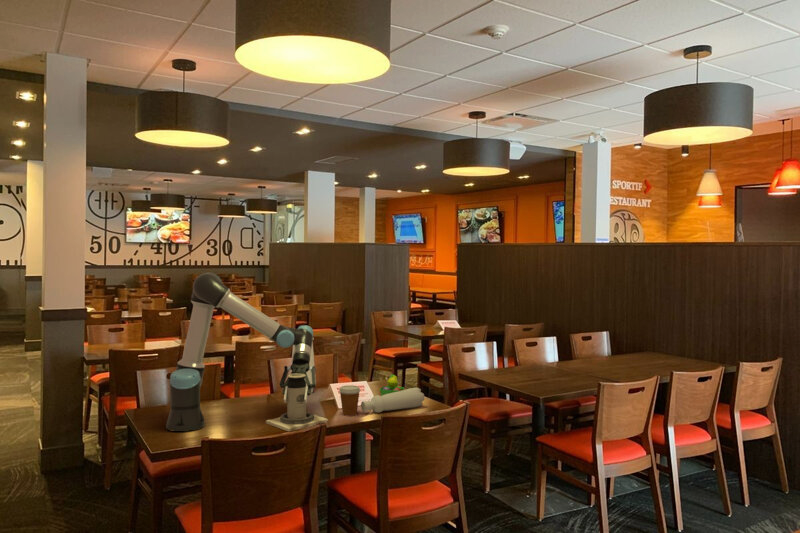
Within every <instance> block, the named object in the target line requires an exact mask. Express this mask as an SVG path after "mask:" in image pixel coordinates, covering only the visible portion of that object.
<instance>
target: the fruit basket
mask: <svg viewBox="0 0 800 533" xmlns="http://www.w3.org/2000/svg"><path fill="white" fill-rule="evenodd" d="M386 382H387V385H385V386H382V387H380V388H379V392H380V396H382V395H385V394H389V393H394V392H398V391H403V390H405V387H404V386H398V385H399V381H398V377H397V376H396V375H395V374H391V375H390V377H388V380H387V381H386Z"/></svg>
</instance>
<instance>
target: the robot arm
mask: <svg viewBox="0 0 800 533" xmlns="http://www.w3.org/2000/svg"><path fill="white" fill-rule="evenodd" d="M190 302H191V304H192V310H191V315H190V319H189V324H188V330H187V334H186V339H185V344H184V349H183V353H182V358H181V359H180V360H179V361H177V363H176V367H175V371H172V372H171V373H170V377H169V384H170V385H169V387H170V396H169V398H170V411H169V413H168V417H167V421H166V426H165V428H167V429H169V430H174V431H188V430H194V431H197V430H196V429H198V430H200V428H201V429H203V428H204V427H205V424H206V423H205V418H204V415H203V412H202V408H201V386H202V384H203V379H204V378H203V376H204V374H205V368H206V367H205V366H206V365H205V364H204V362H203V360H204V357H205V356H204V355H205V350H206V345H207V343H208V336H209V333H210V327H211V322H212V319H213V318H212V317H213V313H214V309H215V308H221V309H222V310H224V311H225V312H227V313H228V314H230V315H232V316H234V317H235V318H236V319H239V320H240V321H242V322H243V323H244V324H246V325H248V326H249V327H250V328H253V329H254V330H256V331H257V332H258V333H261V334H262V335H263V336H265V337H267V338H269V340H270V341H273V342H275V343H276V344H277V345H278V346H279V347H281V348H284V349H286V348H289V347H291V346H293V345H295V349H294V356H293V361H292V360H291V364H292V365H290V366H287V365H284V366H283V367H284V368H283V369H284V370H283V373H282V375H281V378H280V381H279V387H280V388H281V389H282V395H283V402H284V403H285V404H287V382H288V381H289V378H288V375H289V372H290V374H295V373H301V374H305V375H306V376H305V380H306V383H307V386H306V390H305V398H304V400H305V403H306V404H307V403H308V396H311V394H312V393H311V389H312V388H313V389H315V388H316V385H317V383H316V384H315V377H316V370H317V369H316V368H317V367H316V366H313V367H310V366H309V363H310V355H311V347H312V341H314V339H313V338H314V330H313V329H314V328H312V327H311V326H309V325H305V324H303V325H302V324H301V325H299V326H298V328H294V327H291V326H286V325H283V324H280V323H279V322H277V321H276V320H274V319H272V318H271V317H270V316H268V315H266V314H265V313H263V312H262V311H260V310H258V309H257V308H256V307H254V306H252V305H251V304H249V303H248V302H247V301H245V300H243V299H242V298H241V297H238V295H235V294H234V293H232V292H231V289H230V288H229V287H227V286H226V285H225V284H224V283H223V282H222V280H221V278H220V276H218V274H215V273H212V272H203V273H201V274H199V275H198V276H197V277H196V278H195V280H194V281H193V284H192V293H191V298H190ZM309 369H310V371H311V373H312V384H310V382H309V379H308V376H307V374H306V372H307V371H308V370H309ZM291 370H292V372H291ZM202 427H203V428H202ZM167 429H166V430H167Z"/></svg>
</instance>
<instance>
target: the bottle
mask: <svg viewBox="0 0 800 533" xmlns="http://www.w3.org/2000/svg"><path fill="white" fill-rule="evenodd" d="M421 391H422V389H421V388H419V387H412V388H411V387H410V388H407V389H404V390H403V391H398V392H394V393H389V394H385V395H382V396H381V395H378V394H376V395H375V396H372V398H371V399H370V400H367V401H365V400H363V401H361V402H360V409H361V411H362V412H368V411H371V410H372V411H373V413H378V414H379V413H382V412H383V411H385V412H386V411H387V412H390V411H396V410H406V409H414V408H419V407H421V406H422V405H424V404H423V402H424V401H425V394H424V393H423V392H421Z"/></svg>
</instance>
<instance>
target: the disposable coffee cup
mask: <svg viewBox="0 0 800 533" xmlns="http://www.w3.org/2000/svg"><path fill="white" fill-rule="evenodd" d="M338 392H339V394H340V402H341V409H342V410H341V411H342V415H343V414H344V415H343V416H346V415H352V416H356V415H357V414H358V406H359V399H360V398H359V397H360V392H361V388H360V386H358V385H353V384H351V385H342V386H340V388H339V390H338ZM355 414H356V415H355Z"/></svg>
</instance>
